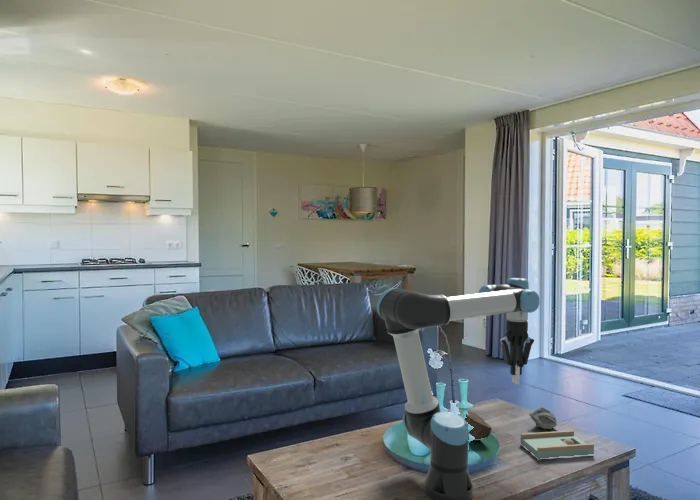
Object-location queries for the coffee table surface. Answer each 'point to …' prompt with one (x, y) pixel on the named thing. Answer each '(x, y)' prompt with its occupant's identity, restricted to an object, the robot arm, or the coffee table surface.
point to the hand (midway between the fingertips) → (515, 383)
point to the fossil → (543, 418)
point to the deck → (555, 444)
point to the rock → (478, 426)
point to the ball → (568, 442)
